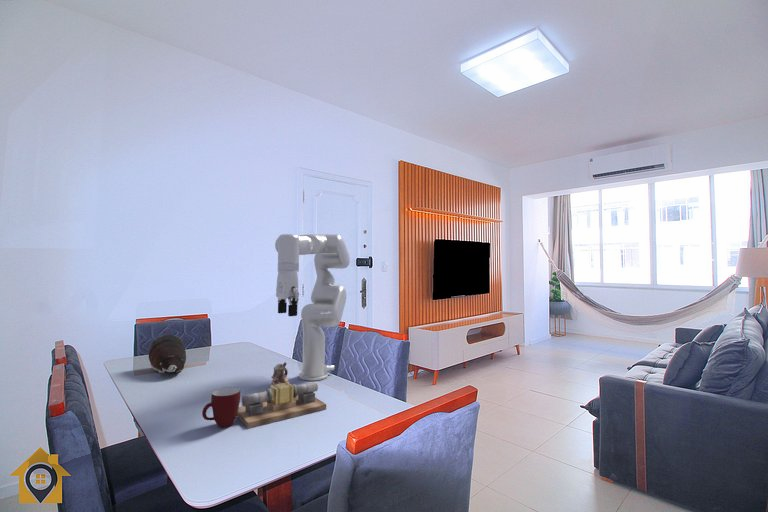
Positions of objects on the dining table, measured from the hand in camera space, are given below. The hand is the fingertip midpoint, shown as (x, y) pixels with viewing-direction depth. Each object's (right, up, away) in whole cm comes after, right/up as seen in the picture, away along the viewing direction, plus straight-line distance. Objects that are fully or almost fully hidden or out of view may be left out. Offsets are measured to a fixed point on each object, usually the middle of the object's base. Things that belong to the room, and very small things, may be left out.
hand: (287, 314), depth 137 cm
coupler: (+2, -27, -13) cm, 30 cm away
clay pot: (-60, -31, +29) cm, 74 cm away
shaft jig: (+1, -30, -13) cm, 33 cm away
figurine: (-3, -31, +1) cm, 31 cm away
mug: (-13, -30, -25) cm, 41 cm away
